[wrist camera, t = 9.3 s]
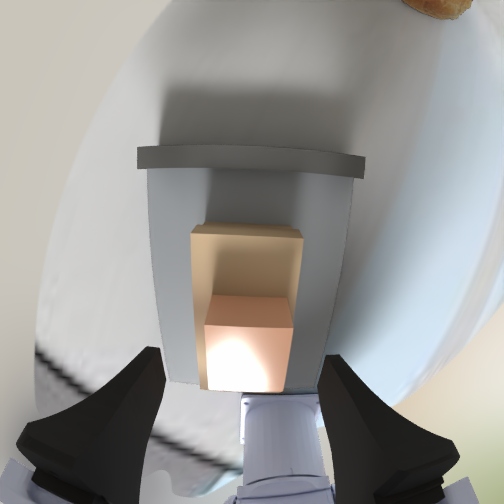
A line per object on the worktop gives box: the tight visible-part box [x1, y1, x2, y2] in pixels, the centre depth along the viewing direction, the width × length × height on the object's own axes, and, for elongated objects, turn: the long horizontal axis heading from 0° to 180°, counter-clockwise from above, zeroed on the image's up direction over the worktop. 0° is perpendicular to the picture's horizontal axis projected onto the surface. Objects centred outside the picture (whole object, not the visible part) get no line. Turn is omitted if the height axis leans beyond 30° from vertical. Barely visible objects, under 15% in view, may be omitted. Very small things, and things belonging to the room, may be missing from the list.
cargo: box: [204, 295, 294, 392], centre depth 13 cm, size 4×4×2 cm
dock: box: [137, 145, 366, 388], centre depth 18 cm, size 18×12×4 cm, turn 177°
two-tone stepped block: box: [190, 221, 304, 393], centre depth 16 cm, size 10×5×4 cm, turn 177°
